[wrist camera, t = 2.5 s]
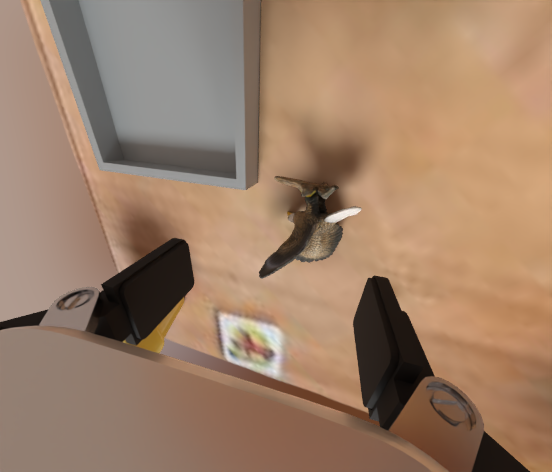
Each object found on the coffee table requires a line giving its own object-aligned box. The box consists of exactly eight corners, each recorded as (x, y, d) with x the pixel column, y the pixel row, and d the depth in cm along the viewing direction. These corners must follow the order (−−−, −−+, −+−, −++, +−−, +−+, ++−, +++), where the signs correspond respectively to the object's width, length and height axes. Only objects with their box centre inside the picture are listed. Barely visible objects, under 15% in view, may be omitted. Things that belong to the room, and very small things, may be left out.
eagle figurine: (260, 170, 18) (247, 261, 20) (292, 179, 11) (268, 309, 14) (332, 182, 20) (312, 261, 23) (390, 195, 14) (352, 301, 17)
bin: (262, -112, 11) (240, -184, 9) (258, 182, 19) (245, 190, 17) (59, -73, 15) (-1, -117, 12) (127, 165, 22) (99, 170, 20)
